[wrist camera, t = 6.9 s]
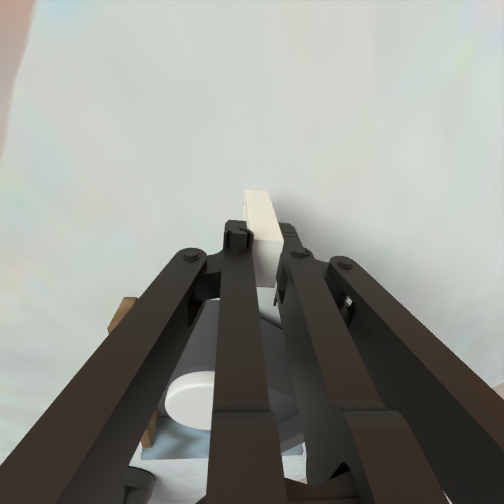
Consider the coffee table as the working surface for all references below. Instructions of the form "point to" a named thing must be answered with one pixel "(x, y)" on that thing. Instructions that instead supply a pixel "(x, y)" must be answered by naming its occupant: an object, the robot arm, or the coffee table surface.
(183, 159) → the coffee table surface
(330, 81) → the coffee table surface
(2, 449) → the coffee table surface
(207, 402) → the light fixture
